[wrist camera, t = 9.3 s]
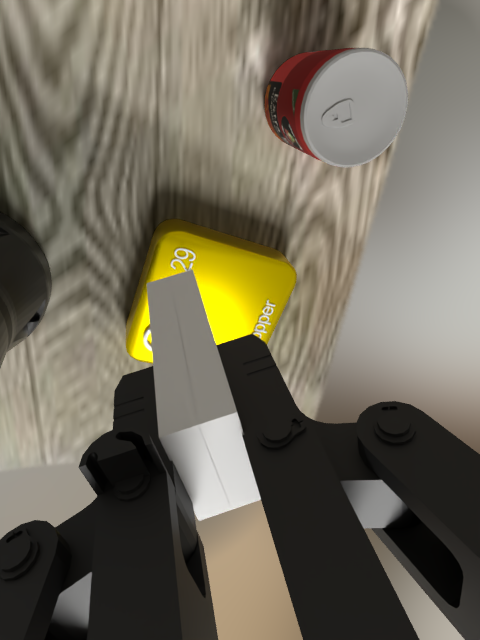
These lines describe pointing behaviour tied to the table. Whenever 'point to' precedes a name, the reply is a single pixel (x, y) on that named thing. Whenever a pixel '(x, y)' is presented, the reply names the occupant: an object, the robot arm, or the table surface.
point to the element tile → (214, 283)
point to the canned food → (338, 104)
